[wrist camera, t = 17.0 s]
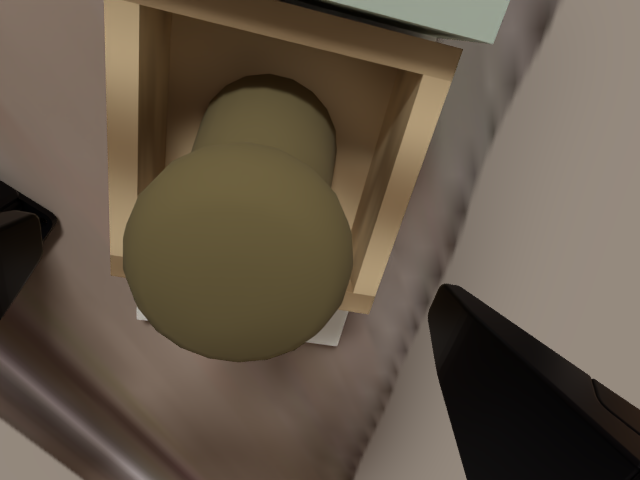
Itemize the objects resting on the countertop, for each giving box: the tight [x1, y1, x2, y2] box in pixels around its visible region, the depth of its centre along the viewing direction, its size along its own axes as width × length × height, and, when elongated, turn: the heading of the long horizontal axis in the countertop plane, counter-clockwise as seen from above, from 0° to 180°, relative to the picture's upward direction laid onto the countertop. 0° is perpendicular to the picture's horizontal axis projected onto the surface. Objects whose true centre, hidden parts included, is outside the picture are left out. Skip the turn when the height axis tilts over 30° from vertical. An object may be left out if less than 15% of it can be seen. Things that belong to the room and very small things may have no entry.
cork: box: [123, 74, 353, 362], centre depth 13 cm, size 6×6×11 cm
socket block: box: [104, 0, 463, 314], centre depth 17 cm, size 11×11×4 cm
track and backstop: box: [137, 0, 510, 346], centre depth 18 cm, size 19×12×6 cm, turn 167°
